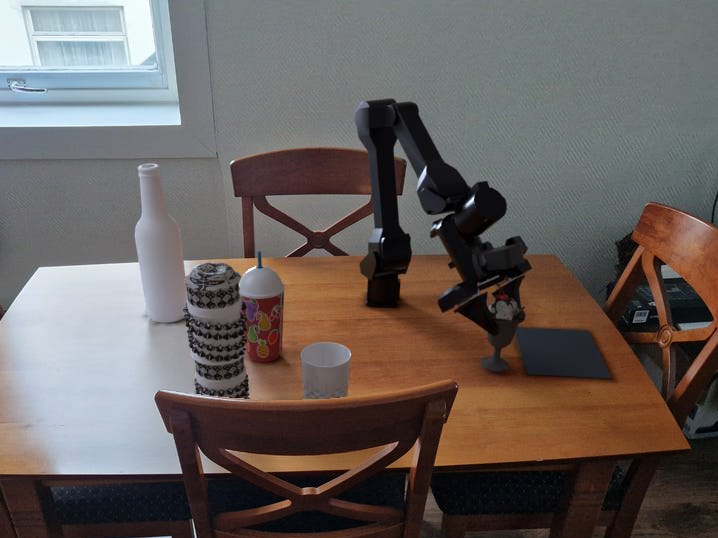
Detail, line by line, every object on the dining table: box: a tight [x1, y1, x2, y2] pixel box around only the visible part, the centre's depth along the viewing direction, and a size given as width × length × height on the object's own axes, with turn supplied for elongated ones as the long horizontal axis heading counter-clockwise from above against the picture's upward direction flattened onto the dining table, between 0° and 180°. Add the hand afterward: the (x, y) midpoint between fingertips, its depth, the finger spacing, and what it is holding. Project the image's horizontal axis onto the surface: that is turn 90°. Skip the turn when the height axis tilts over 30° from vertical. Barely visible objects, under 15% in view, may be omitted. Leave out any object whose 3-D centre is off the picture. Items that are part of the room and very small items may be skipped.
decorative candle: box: [183, 261, 251, 400], centre depth 99 cm, size 9×9×25 cm
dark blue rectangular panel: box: [514, 326, 613, 380], centre depth 120 cm, size 14×18×1 cm
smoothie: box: [239, 250, 286, 363], centre depth 116 cm, size 8×8×20 cm
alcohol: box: [134, 163, 188, 324], centre depth 128 cm, size 9×9×30 cm
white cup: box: [300, 341, 352, 400], centre depth 104 cm, size 8×8×10 cm
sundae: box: [480, 283, 527, 373], centre depth 110 cm, size 7×7×15 cm
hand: (508, 328), depth 110 cm, fingers closed on sundae, 6 cm apart
